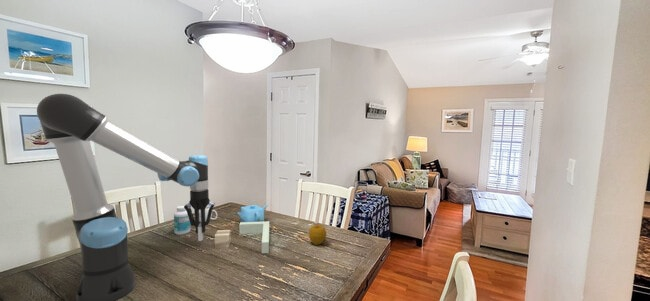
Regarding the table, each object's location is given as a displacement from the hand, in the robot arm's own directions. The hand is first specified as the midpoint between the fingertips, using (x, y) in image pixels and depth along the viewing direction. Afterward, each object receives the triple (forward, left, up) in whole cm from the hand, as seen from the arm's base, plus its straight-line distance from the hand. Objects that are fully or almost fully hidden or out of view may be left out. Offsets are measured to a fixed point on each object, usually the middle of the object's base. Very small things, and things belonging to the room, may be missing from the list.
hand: (200, 239), depth 123 cm
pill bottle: (+17, +13, -3) cm, 22 cm away
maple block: (0, -10, -3) cm, 10 cm away
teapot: (+24, -22, -3) cm, 33 cm away
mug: (+34, +5, -3) cm, 34 cm away
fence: (+2, -23, -3) cm, 24 cm away
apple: (-4, -54, -3) cm, 54 cm away
